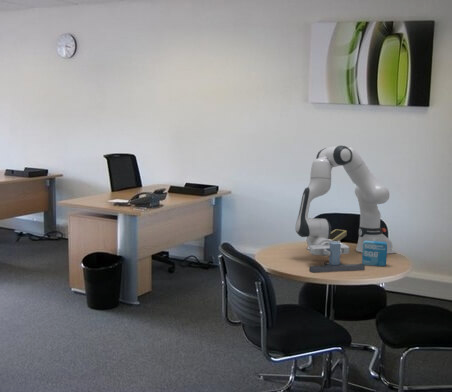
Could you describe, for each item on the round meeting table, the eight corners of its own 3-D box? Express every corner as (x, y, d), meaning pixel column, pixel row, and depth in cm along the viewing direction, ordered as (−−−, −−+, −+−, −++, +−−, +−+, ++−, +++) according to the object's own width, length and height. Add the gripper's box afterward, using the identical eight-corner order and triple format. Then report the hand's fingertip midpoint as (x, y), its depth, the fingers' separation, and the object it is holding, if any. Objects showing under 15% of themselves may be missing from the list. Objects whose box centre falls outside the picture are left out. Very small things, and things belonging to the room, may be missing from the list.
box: (347, 237, 334) (347, 230, 333) (332, 249, 317) (331, 242, 315) (335, 236, 339) (335, 228, 338) (319, 248, 322) (318, 240, 320)
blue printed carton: (361, 264, 274) (363, 241, 273) (361, 262, 278) (363, 240, 277) (386, 266, 271) (387, 243, 269) (385, 264, 275) (387, 241, 274)
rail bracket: (357, 265, 271) (357, 261, 271) (364, 270, 264) (364, 265, 263) (305, 268, 265) (305, 263, 265) (311, 272, 257) (311, 267, 257)
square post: (336, 265, 268) (337, 242, 266) (339, 267, 264) (340, 243, 262) (328, 265, 267) (329, 242, 265) (332, 268, 263) (333, 244, 261)
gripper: (305, 241, 274) (316, 247, 261) (342, 240, 279) (354, 246, 265) (305, 253, 275) (315, 260, 261) (341, 252, 279) (353, 258, 266)
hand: (335, 253), depth 263 cm, fingers closed on square post, 4 cm apart
